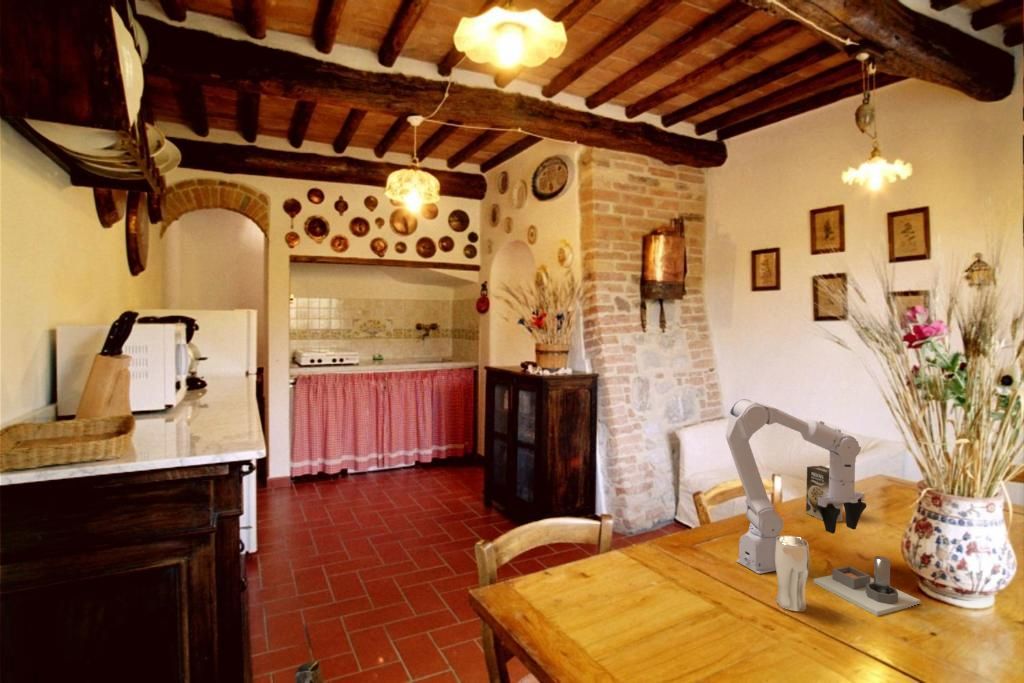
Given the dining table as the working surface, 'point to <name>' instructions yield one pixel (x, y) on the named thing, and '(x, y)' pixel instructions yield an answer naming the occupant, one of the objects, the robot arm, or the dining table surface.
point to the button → (851, 575)
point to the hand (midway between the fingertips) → (840, 530)
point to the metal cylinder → (881, 574)
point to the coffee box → (818, 490)
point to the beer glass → (791, 571)
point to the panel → (865, 591)
